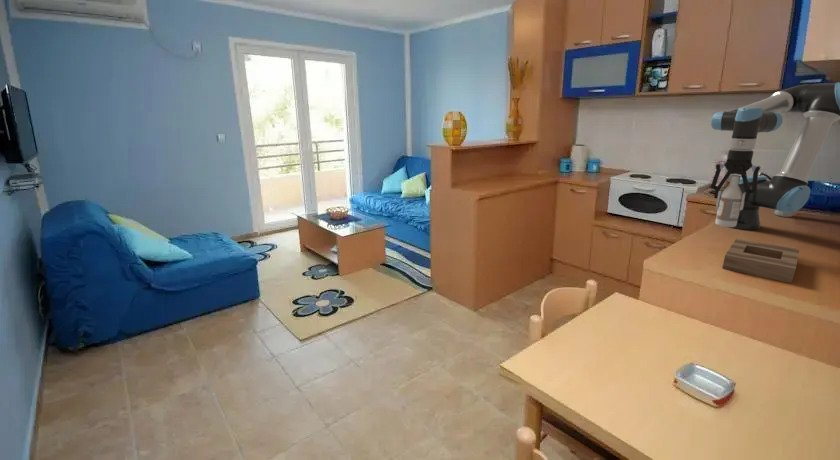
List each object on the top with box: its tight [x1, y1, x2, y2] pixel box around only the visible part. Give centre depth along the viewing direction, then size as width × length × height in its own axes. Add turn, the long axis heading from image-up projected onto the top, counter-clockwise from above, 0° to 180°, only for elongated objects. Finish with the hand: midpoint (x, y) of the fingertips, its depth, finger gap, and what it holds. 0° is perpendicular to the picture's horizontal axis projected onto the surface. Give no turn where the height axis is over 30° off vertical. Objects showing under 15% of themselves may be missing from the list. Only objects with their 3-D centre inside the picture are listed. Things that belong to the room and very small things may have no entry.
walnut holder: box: [721, 238, 800, 284], centre depth 141 cm, size 24×18×5 cm
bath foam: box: [714, 174, 743, 228], centre depth 159 cm, size 7×7×20 cm
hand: (729, 207), depth 160 cm, fingers closed on bath foam, 7 cm apart
